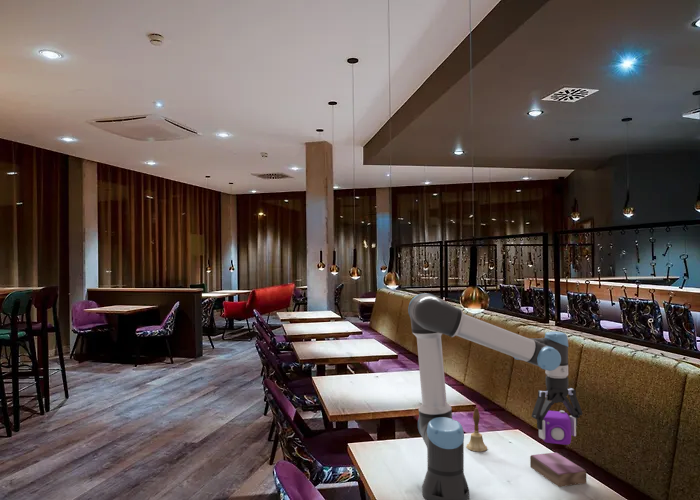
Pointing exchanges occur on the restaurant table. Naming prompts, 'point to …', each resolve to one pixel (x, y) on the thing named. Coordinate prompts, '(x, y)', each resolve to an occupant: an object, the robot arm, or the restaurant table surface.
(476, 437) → the hand bell
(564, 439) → the toy camera
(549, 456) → the walnut step
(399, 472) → the restaurant table surface
